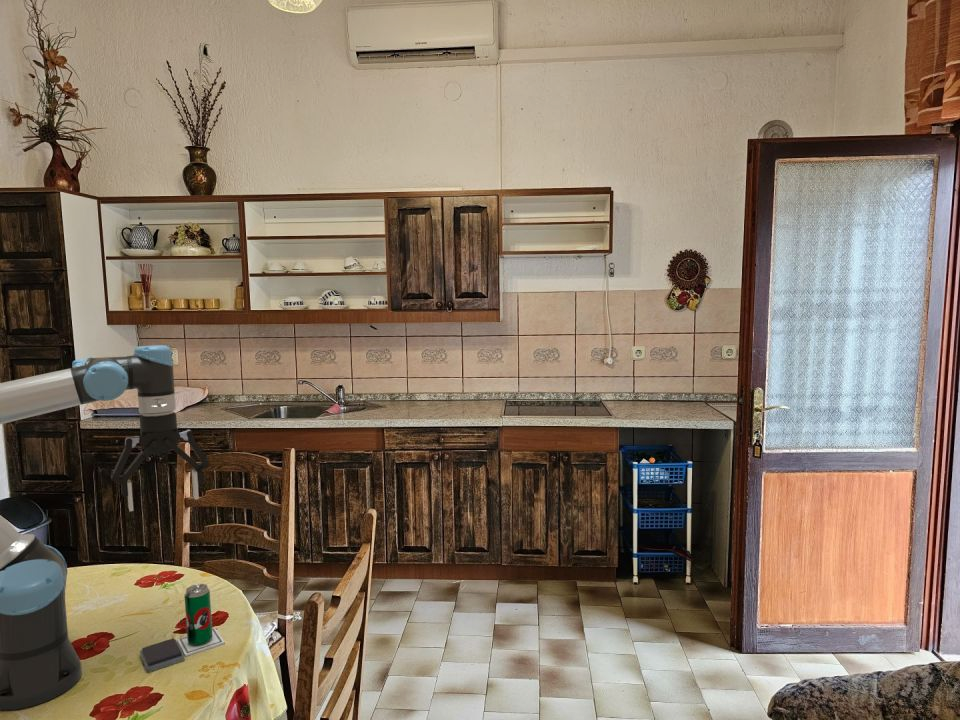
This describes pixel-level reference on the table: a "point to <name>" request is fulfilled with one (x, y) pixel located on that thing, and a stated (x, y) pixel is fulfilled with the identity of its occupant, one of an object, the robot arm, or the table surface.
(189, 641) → the soda can
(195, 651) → the print card
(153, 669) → the ink pad
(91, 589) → the table surface
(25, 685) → the robot arm
